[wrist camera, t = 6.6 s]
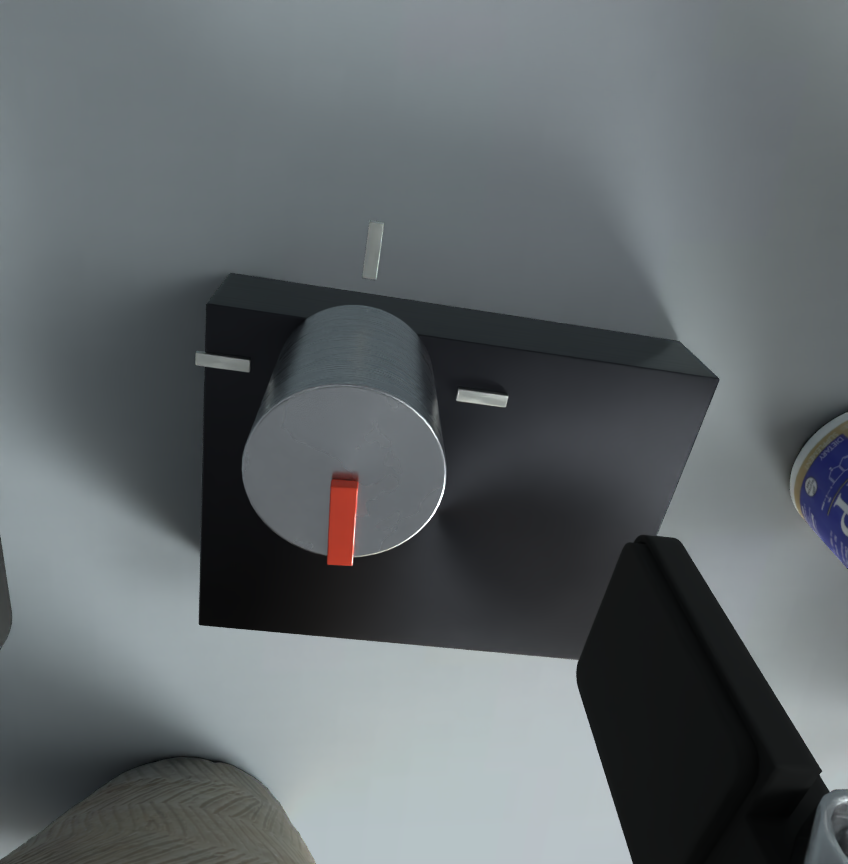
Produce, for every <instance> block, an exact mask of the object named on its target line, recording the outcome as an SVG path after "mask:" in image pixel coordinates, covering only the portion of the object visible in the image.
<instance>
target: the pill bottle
mask: <svg viewBox="0 0 848 864" xmlns="http://www.w3.org/2000/svg"><path fill="white" fill-rule="evenodd" d="M790 494H791V498H792V501H793V504H794V506H795V508H796V509H797V511H798V512H799V514H800V515H801V516H802V517H803V519H804V520H805V521H806V523H807V524H808V525H809V526H810V527H811V528H812V529H813V530H814V532H815V533H816V534H817V535H818V536H819V537H820V538H821V539H822V541H823V542H824V543H825V544H826V545H827V546H828V547H829V548H830V550H831V551H832V552H833V553H834V554H835V555H836V556H837V557H838V559H839V560H840V561H841V562H842V563H843V564H844V565H845V566H846V568H847V569H848V412H846V413H844V414H842V415H840V416H838V417H837V418H835V419H833V420H832V421H830V422H829V423H827V424H826V425H825V426H823V427H822V428H821V429H820V430H818V431H817V432H816V433H815V434H814V435H813V436H812V437H811V438H810V439H809V440H808V442H807V443H806V444H805V446H804V447H803V448H802V450H801V451H800V453H799V455H798V456H797V458H796V461H795V463H794V465H793V468H792V472H791V477H790Z"/></svg>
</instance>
